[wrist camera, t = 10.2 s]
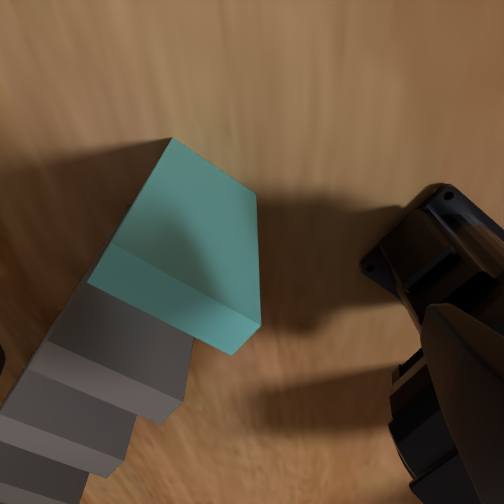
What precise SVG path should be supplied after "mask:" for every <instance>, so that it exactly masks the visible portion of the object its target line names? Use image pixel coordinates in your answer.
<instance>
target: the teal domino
mask: <svg viewBox="0 0 504 504" xmlns="http://www.w3.org/2000/svg"><path fill="white" fill-rule="evenodd" d="M87 283H89V284H91V285H93V286H95V287H97V288H99V289H101V290H103V291H105V292H107V293H109V294H111V295H112V296H114V297H116V298H118V299H120V300H122V301H124V302H126V303H128V304H130V305H132V306H134V307H136V308H138V309H140V310H142V311H144V312H146V313H148V314H150V315H152V316H154V317H156V318H158V319H160V320H162V321H164V322H166V323H168V324H170V325H172V326H174V327H176V328H178V329H180V330H182V331H184V332H186V333H188V334H190V335H192V336H194V337H195V338H197V339H199V340H201V341H203V342H205V343H207V344H209V345H211V346H213V347H215V348H217V349H219V350H221V351H223V352H225V353H227V354H229V355H231V356H232V355H233V354H234V353H235V352H236V351H237V350H238V349H239V348H240V347H241V346H242V345H243V344H244V343H245V341H246V340H247V339H248V338H249V337H250V336H251V335H252V334H253V333H254V332H255V331H256V330H257V329H258V328H259V327H260V326H261V309H260V282H259V256H258V229H257V203H256V194H255V193H254V192H252V191H251V190H249V189H248V188H246V187H245V186H243V185H242V184H241V183H239V182H238V181H236V180H235V179H233V178H232V177H230V176H229V175H227V174H226V173H224V172H223V171H221V170H220V169H218V168H217V167H215V166H214V165H213V164H211V163H210V162H208V161H207V160H205V159H204V158H202V157H201V156H199V155H198V154H196V153H195V152H193V151H192V150H190V149H189V148H187V147H186V146H184V145H183V144H182V143H180V142H179V141H177V140H176V139H174V138H172V139H171V141H170V142H169V144H168V146H167V147H166V149H165V150H164V152H163V154H162V155H161V157H160V158H159V160H158V162H157V163H156V165H155V167H154V168H153V170H152V172H151V173H150V175H149V177H148V179H147V180H146V182H145V184H144V185H143V187H142V189H141V191H140V192H139V194H138V196H137V197H136V199H135V201H134V203H133V204H132V206H131V208H130V209H129V211H128V213H127V214H126V216H125V218H124V220H123V221H122V223H121V225H120V226H119V228H118V230H117V232H116V233H115V235H114V237H113V238H112V240H111V242H110V243H109V245H108V247H107V249H106V250H105V252H104V254H103V255H102V257H101V259H100V261H99V262H98V264H97V266H96V267H95V269H94V271H93V272H92V274H91V276H90V278H89V279H88V281H87Z"/></svg>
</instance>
